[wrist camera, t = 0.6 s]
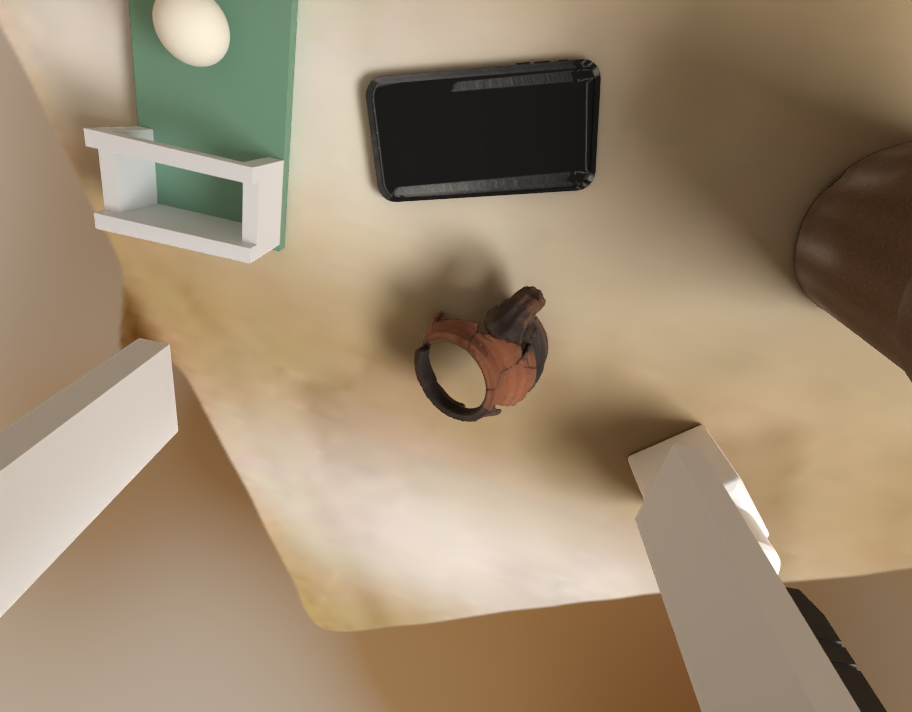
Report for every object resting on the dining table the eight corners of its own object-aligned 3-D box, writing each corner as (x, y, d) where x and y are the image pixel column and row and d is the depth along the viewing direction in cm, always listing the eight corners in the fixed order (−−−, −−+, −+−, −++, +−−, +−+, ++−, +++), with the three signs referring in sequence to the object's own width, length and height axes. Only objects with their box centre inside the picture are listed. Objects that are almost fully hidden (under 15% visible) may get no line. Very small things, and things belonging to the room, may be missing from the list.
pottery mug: (526, 403, 43) (477, 455, 37) (447, 338, 45) (388, 377, 39) (601, 302, 35) (553, 346, 29) (500, 229, 37) (437, 256, 31)
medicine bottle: (657, 506, 47) (707, 624, 36) (625, 455, 44) (669, 565, 33) (731, 477, 44) (808, 593, 34) (702, 421, 42) (775, 527, 31)
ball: (176, -15, 29) (133, -33, 26) (242, 2, 29) (208, -14, 26) (179, 61, 31) (139, 54, 28) (241, 76, 31) (209, 71, 28)
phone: (594, 189, 33) (380, 202, 35) (591, 187, 34) (383, 200, 36) (601, 55, 30) (363, 75, 31) (598, 57, 31) (366, 77, 32)
